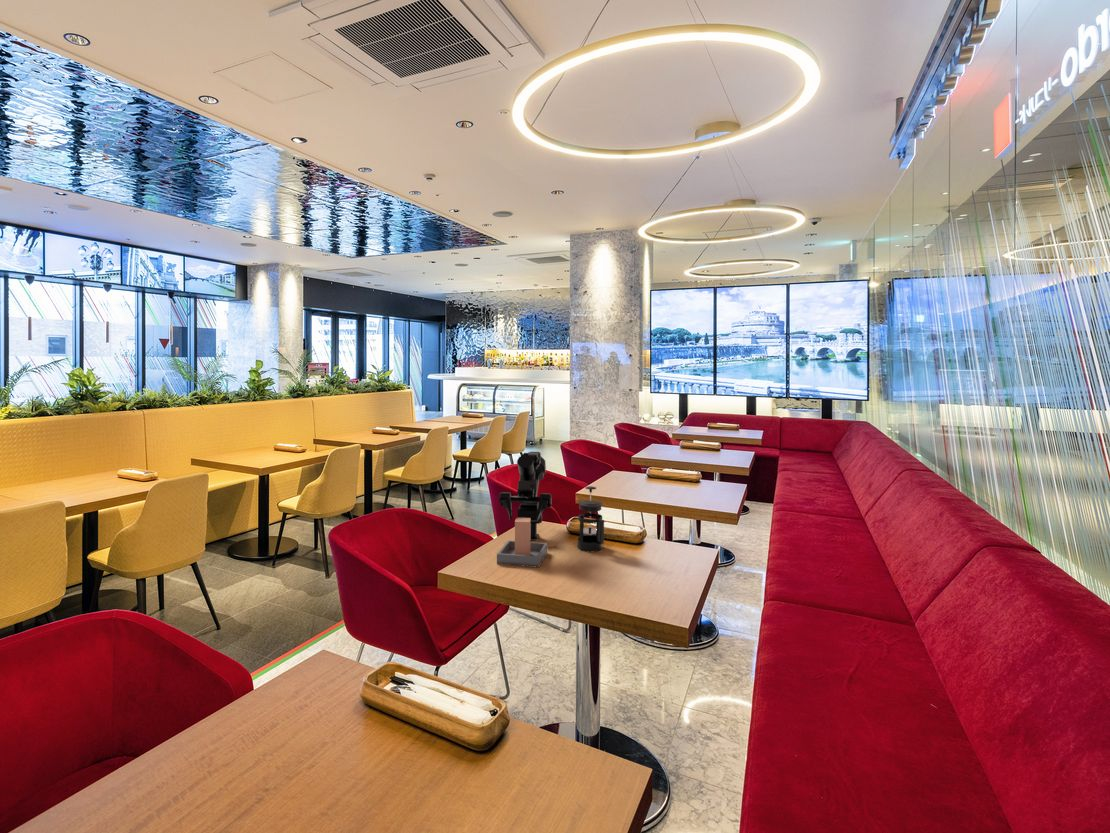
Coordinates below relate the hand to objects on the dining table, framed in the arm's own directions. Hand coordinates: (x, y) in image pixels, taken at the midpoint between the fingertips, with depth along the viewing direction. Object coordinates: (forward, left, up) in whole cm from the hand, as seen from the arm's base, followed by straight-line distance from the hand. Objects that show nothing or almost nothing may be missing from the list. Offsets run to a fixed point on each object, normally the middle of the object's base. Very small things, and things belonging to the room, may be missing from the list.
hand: (523, 520), depth 199 cm
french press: (-13, +22, -13) cm, 29 cm away
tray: (+3, 0, -13) cm, 13 cm away
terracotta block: (+3, 0, -12) cm, 12 cm away
